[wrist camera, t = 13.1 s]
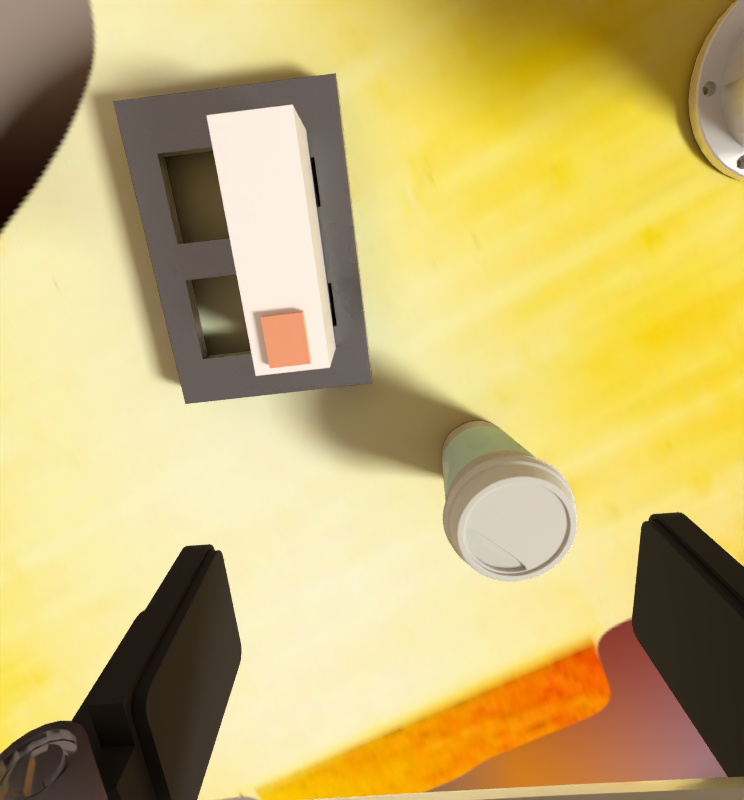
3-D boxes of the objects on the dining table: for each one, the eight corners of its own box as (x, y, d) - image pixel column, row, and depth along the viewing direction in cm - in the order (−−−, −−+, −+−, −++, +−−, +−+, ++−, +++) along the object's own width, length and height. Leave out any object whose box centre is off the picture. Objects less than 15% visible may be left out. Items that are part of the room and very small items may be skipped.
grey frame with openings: (338, 88, 34) (335, 73, 31) (371, 372, 40) (371, 383, 37) (136, 114, 34) (113, 101, 31) (199, 391, 40) (185, 403, 37)
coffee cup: (411, 425, 41) (429, 495, 30) (510, 390, 40) (567, 448, 29) (443, 510, 43) (471, 605, 32) (537, 478, 43) (600, 564, 31)
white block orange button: (312, 141, 35) (291, 101, 25) (338, 338, 39) (329, 370, 29) (248, 149, 35) (202, 112, 25) (281, 344, 39) (253, 378, 29)
